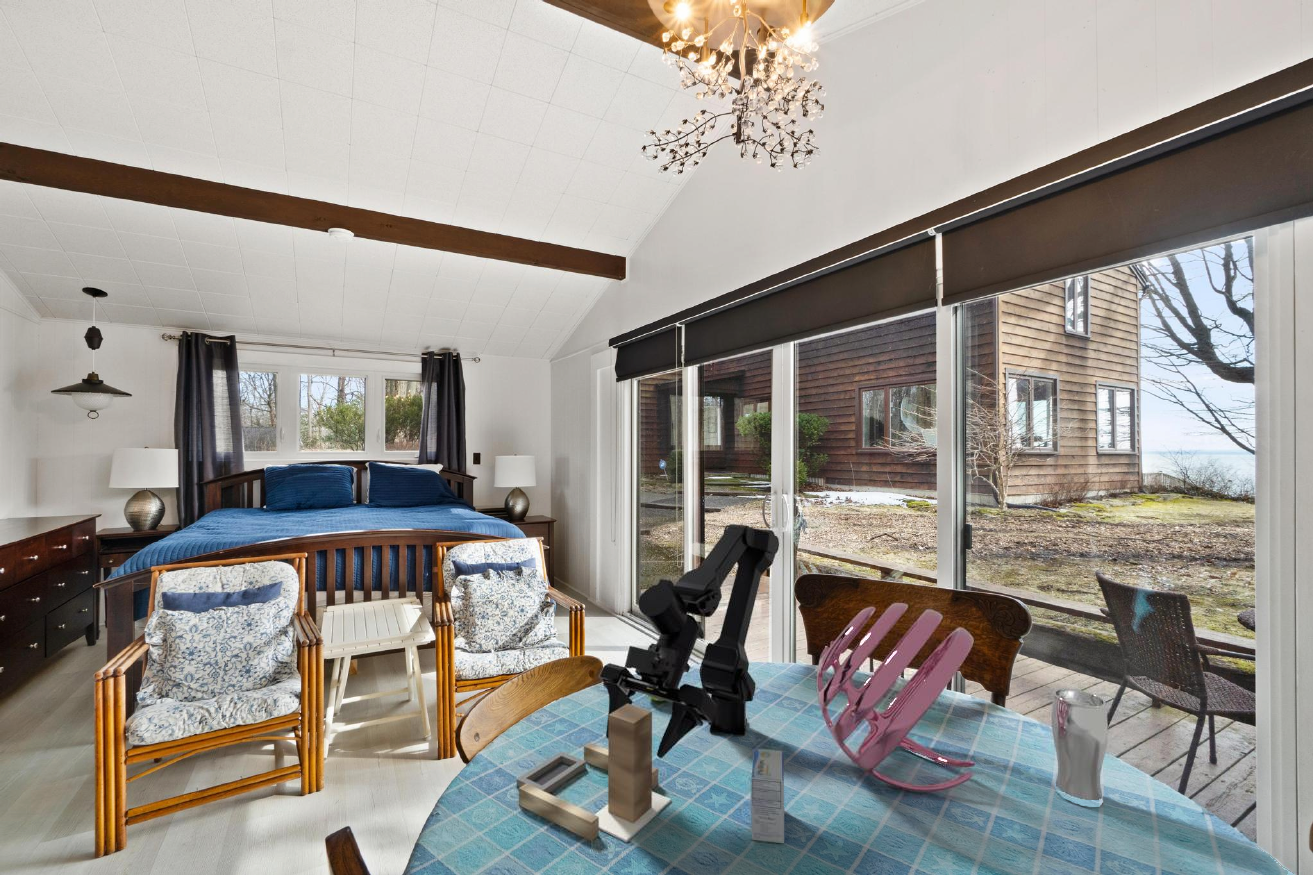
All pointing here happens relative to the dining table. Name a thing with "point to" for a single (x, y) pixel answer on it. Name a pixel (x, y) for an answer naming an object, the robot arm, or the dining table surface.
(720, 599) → the robot arm
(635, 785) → the walnut block
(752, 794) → the medicine box
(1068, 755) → the beer glass
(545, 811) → the channel
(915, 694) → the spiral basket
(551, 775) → the tray
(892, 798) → the dining table surface
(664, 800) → the pad
